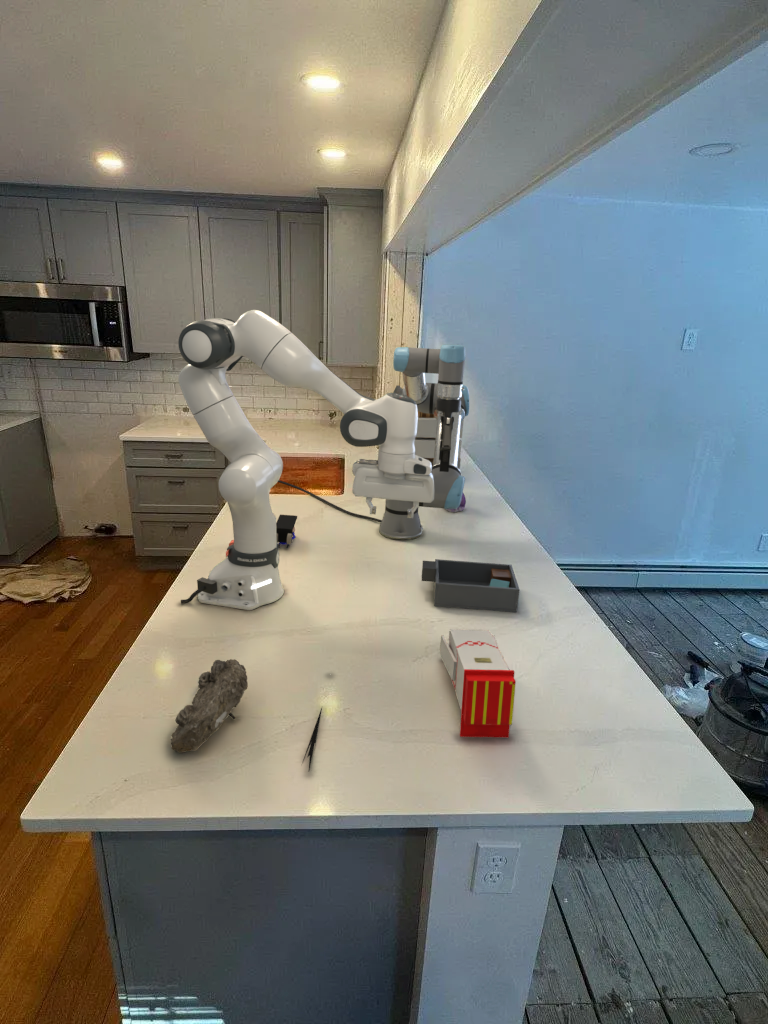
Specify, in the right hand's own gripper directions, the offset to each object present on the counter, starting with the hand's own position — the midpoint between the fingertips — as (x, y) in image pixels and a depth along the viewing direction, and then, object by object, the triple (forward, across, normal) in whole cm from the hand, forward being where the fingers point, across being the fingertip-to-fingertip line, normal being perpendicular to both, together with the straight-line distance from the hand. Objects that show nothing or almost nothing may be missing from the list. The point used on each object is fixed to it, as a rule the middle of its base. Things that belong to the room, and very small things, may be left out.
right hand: (443, 465), depth 179 cm
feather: (+29, -87, +23) cm, 94 cm away
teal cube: (+25, -35, -19) cm, 47 cm away
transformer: (+29, +91, +8) cm, 96 cm away
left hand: (+3, -41, +14) cm, 44 cm away
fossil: (+29, -88, +43) cm, 102 cm away
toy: (+29, -74, -6) cm, 80 cm away
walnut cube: (+28, -27, -17) cm, 43 cm away
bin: (+29, -31, -8) cm, 43 cm away
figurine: (+29, +42, -8) cm, 51 cm away
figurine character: (+29, -4, +50) cm, 58 cm away
